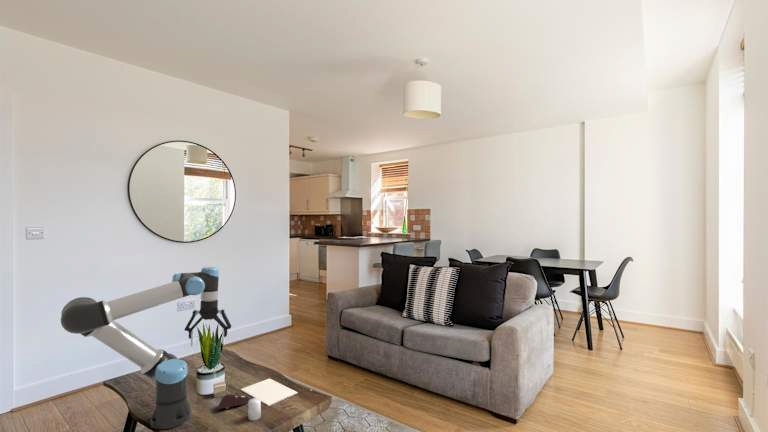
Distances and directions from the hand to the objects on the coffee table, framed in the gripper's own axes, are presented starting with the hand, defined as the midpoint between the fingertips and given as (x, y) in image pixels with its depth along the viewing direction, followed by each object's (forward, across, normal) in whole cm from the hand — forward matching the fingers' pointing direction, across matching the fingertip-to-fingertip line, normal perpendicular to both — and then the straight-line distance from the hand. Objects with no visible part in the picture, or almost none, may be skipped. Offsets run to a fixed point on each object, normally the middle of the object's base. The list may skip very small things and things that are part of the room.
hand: (207, 344), depth 180 cm
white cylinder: (+24, -24, +26) cm, 43 cm away
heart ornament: (+24, -13, +19) cm, 34 cm away
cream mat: (+23, -29, +4) cm, 37 cm away
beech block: (+24, -6, +1) cm, 25 cm away
